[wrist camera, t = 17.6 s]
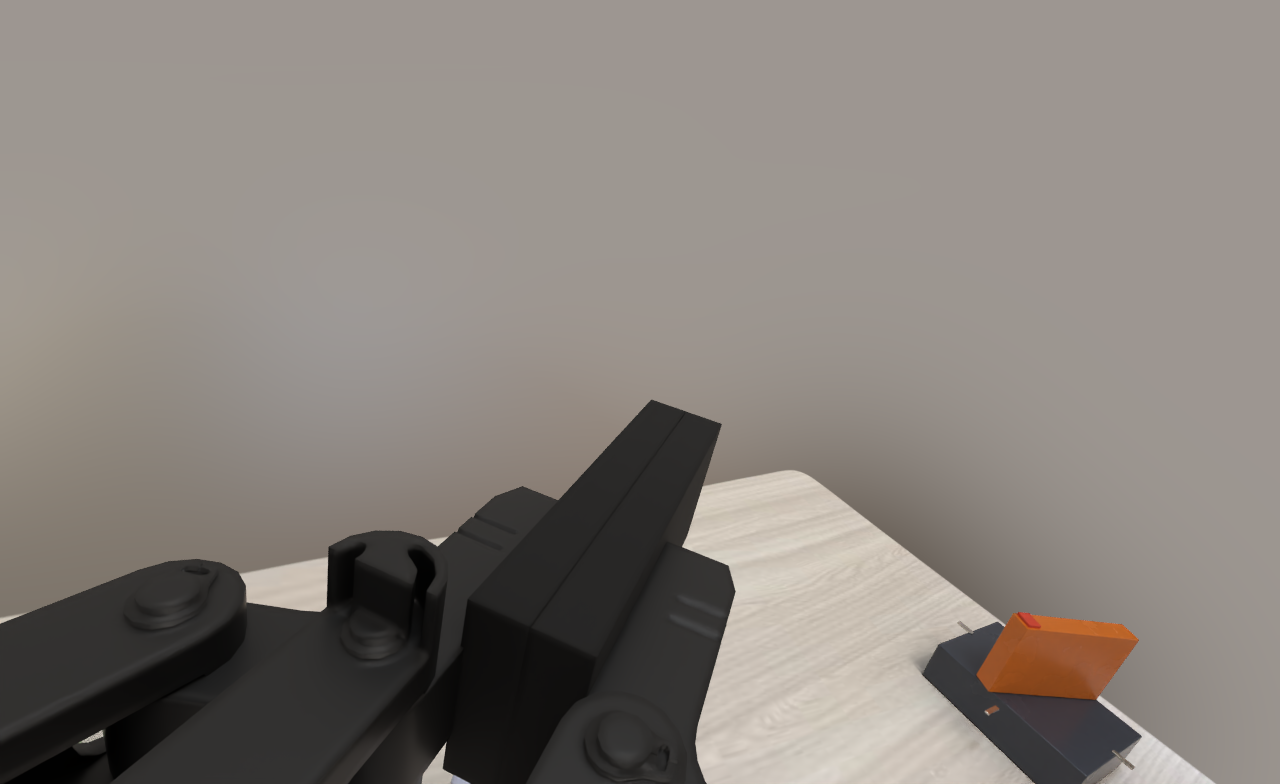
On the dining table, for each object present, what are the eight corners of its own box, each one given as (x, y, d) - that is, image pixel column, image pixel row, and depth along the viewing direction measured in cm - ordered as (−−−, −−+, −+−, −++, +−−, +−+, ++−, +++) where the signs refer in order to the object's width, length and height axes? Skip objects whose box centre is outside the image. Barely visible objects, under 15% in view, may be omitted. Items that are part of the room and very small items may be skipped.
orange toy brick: (1081, 683, 50) (1123, 621, 48) (1096, 700, 49) (1141, 637, 46) (975, 674, 48) (1014, 610, 46) (988, 692, 47) (1029, 626, 44)
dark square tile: (1148, 768, 48) (1174, 736, 47) (1059, 839, 41) (1086, 805, 39) (985, 634, 59) (1002, 605, 58) (892, 671, 52) (909, 639, 50)
